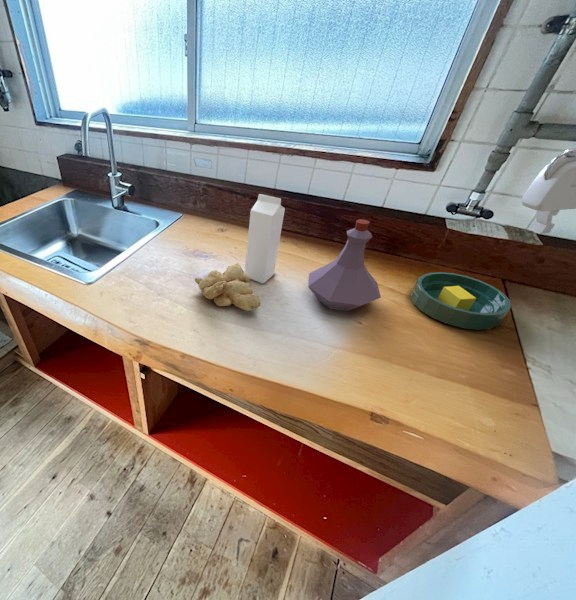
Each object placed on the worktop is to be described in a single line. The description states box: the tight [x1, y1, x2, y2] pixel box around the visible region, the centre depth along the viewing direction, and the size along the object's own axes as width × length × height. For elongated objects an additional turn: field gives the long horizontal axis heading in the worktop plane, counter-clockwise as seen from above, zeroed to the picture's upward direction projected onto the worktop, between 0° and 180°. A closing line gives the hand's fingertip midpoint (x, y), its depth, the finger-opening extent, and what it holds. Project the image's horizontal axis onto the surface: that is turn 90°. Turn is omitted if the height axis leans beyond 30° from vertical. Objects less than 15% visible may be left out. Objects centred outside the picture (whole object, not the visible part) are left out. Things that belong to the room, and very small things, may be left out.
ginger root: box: [194, 263, 262, 312], centre depth 79 cm, size 16×16×8 cm
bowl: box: [410, 271, 512, 331], centre depth 73 cm, size 17×17×4 cm
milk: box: [243, 193, 286, 285], centre depth 82 cm, size 6×6×22 cm
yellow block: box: [437, 286, 476, 311], centre depth 73 cm, size 5×4×4 cm
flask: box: [307, 218, 382, 312], centre depth 72 cm, size 16×16×20 cm
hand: (565, 230), depth 57 cm, fingers open, 8 cm apart
